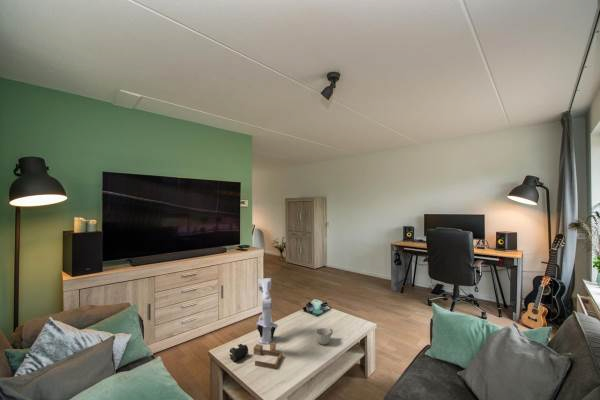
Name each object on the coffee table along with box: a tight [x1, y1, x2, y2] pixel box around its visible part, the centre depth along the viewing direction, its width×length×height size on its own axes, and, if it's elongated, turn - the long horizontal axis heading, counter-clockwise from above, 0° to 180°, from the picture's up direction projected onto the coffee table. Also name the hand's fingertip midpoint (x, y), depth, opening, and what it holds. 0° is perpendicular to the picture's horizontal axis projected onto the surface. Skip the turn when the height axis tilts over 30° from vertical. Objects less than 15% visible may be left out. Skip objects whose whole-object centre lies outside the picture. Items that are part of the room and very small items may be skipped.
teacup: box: [315, 327, 334, 346], centre depth 184 cm, size 14×11×8 cm
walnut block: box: [253, 343, 264, 356], centre depth 171 cm, size 4×4×4 cm
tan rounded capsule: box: [269, 342, 277, 352], centre depth 172 cm, size 4×4×5 cm
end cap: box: [229, 343, 249, 362], centre depth 165 cm, size 10×7×7 cm
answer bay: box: [254, 349, 283, 370], centre depth 162 cm, size 13×14×2 cm
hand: (266, 337), depth 171 cm, fingers open, 7 cm apart
